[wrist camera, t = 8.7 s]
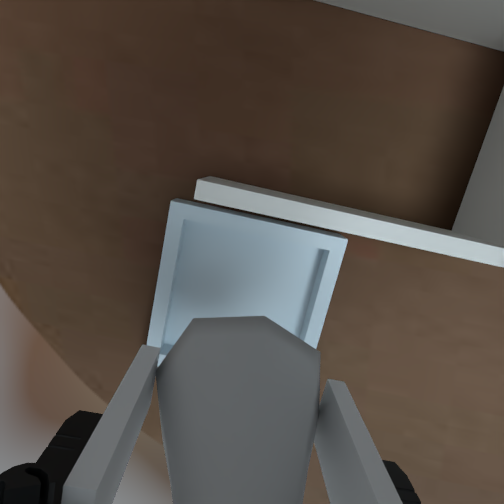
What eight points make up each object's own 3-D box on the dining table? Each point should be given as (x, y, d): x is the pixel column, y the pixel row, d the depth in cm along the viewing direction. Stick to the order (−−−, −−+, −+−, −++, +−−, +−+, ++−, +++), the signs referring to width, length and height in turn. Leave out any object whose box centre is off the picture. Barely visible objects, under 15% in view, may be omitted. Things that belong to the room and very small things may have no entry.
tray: (176, 197, 25) (170, 200, 23) (339, 233, 25) (348, 239, 23) (150, 348, 27) (143, 363, 25) (298, 376, 28) (303, 392, 26)
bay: (250, -37, 21) (255, -158, 13) (544, 44, 23) (706, -22, 15) (207, 190, 24) (190, 201, 17) (468, 248, 26) (567, 284, 18)
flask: (292, 472, 16) (365, 928, 6) (138, 436, 16) (-36, 886, 6) (346, 335, 15) (551, 667, 5) (177, 289, 14) (29, 567, 4)
